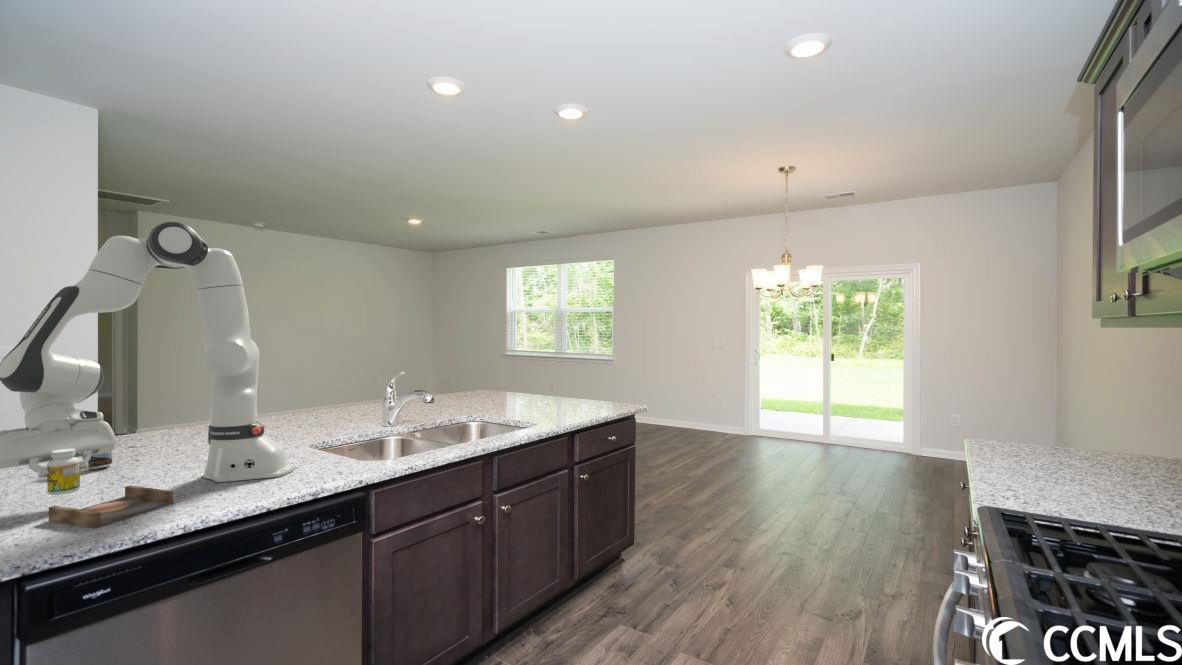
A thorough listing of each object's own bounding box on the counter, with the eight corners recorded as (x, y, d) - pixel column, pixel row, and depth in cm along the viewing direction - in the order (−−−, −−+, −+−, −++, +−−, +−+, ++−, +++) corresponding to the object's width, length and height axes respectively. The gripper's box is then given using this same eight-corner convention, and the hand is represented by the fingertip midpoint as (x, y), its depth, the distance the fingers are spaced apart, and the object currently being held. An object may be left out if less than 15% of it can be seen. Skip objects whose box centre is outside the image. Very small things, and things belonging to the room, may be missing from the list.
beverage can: (95, 472, 152) (95, 429, 152) (74, 470, 154) (74, 428, 154) (118, 466, 158) (118, 425, 158) (98, 464, 160) (98, 424, 160)
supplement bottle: (85, 489, 126) (84, 449, 125) (55, 496, 121) (54, 454, 120) (71, 486, 128) (71, 446, 127) (42, 493, 123) (41, 451, 122)
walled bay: (48, 520, 116) (48, 507, 116) (129, 497, 131) (129, 485, 131) (95, 528, 112) (95, 514, 112) (173, 503, 128) (173, 491, 128)
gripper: (-10, 423, 119) (-1, 475, 114) (110, 411, 136) (123, 455, 131) (-14, 440, 122) (-5, 492, 116) (105, 426, 139) (117, 470, 133)
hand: (64, 472), depth 124 cm, fingers closed on supplement bottle, 5 cm apart
